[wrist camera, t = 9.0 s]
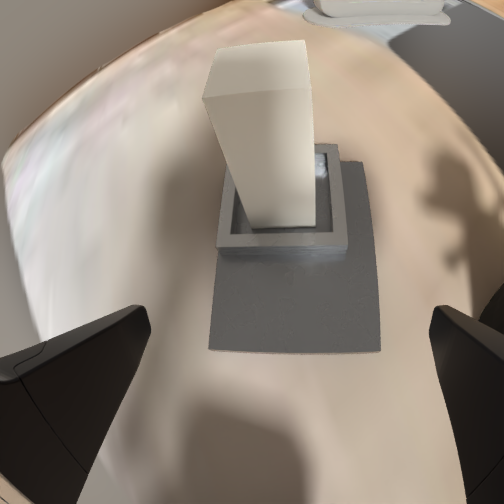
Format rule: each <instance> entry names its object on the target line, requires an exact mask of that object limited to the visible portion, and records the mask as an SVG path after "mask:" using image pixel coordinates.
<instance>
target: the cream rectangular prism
mask: <svg viewBox="0 0 504 504" xmlns="http://www.w3.org/2000/svg"><path fill="white" fill-rule="evenodd" d="M202 99H203V102H204V105H205V107H206V110H207V112H208V115H209V118H210V120H211V123H212V126H213V128H214V131H215V133H216V136H217V139H218V141H219V144H220V147H221V149H222V152H223V154H224V157H225V160H226V162H227V165H228V168H229V170H230V173H231V176H232V178H233V181H234V184H235V186H236V189H237V191H238V194H239V197H240V199H241V202H242V205H243V207H244V210H245V213H246V215H247V218H248V221H249V223H250V226H251V229H257V228H300V227H315V154H314V127H313V107H312V90H311V81H310V74H309V66H308V59H307V52H306V45H305V40H292V41H277V42H266V43H256V44H247V45H239V46H232V47H225V48H219V49H217V51H216V54H215V57H214V60H213V64H212V67H211V70H210V73H209V76H208V80H207V83H206V86H205V90H204V93H203V97H202Z"/></svg>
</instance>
